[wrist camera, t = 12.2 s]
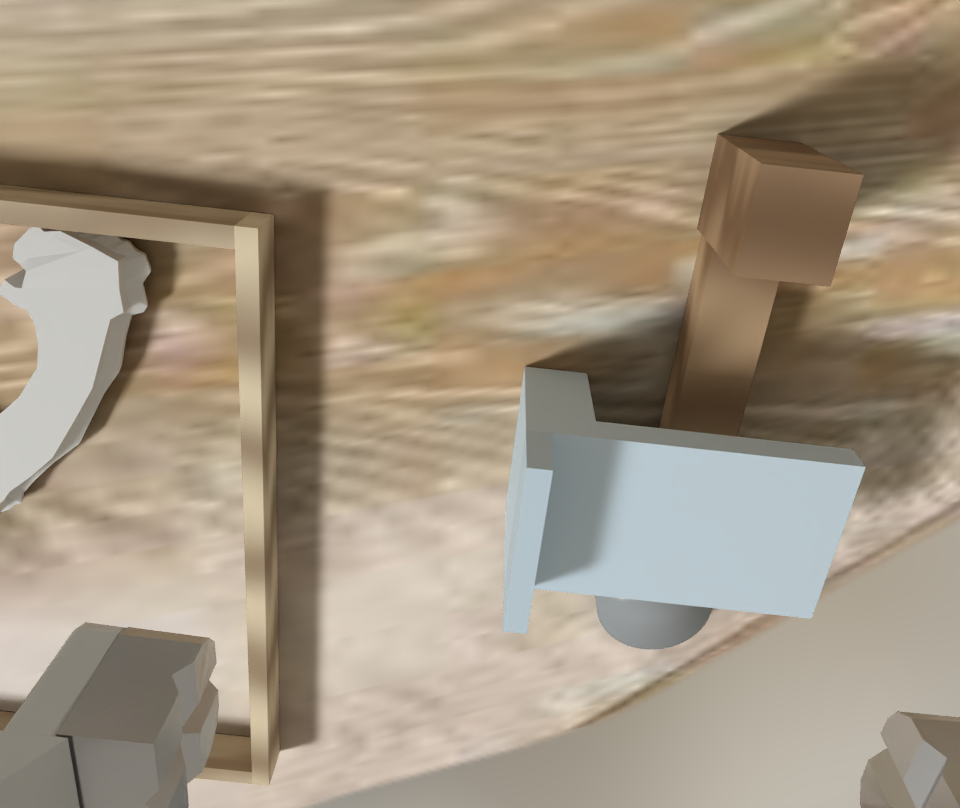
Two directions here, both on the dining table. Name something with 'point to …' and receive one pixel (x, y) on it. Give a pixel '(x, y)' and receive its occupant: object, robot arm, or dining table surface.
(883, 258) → the dining table surface
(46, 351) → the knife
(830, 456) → the shelf
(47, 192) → the wooden frame
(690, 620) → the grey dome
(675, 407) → the brown l-shaped block
